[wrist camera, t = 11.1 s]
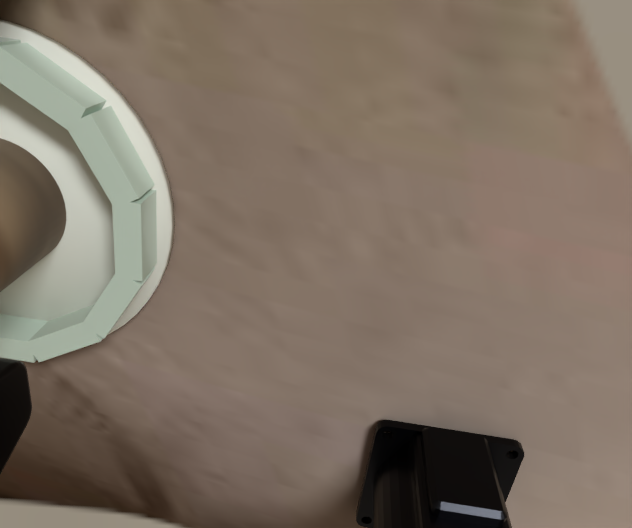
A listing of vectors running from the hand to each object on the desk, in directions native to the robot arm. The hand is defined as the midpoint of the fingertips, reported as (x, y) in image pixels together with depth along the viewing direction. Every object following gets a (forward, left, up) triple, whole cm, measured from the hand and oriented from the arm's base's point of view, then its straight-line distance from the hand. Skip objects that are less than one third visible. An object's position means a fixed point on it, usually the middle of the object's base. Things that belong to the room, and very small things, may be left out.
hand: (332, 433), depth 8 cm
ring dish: (-3, +13, -13) cm, 19 cm away
